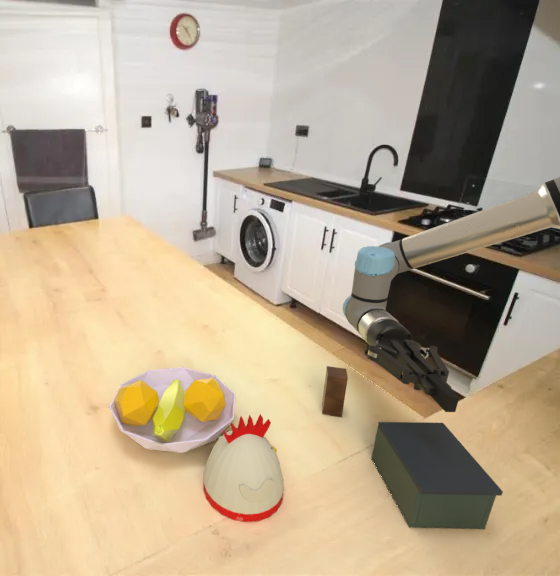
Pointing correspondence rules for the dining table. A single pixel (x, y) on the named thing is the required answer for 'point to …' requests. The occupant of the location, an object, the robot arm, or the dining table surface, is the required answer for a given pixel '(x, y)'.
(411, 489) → the dark green tray box
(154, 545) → the dining table surface
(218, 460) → the kitchen timer
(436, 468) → the dark grey flat panel
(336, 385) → the block
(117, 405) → the fruit bowl
